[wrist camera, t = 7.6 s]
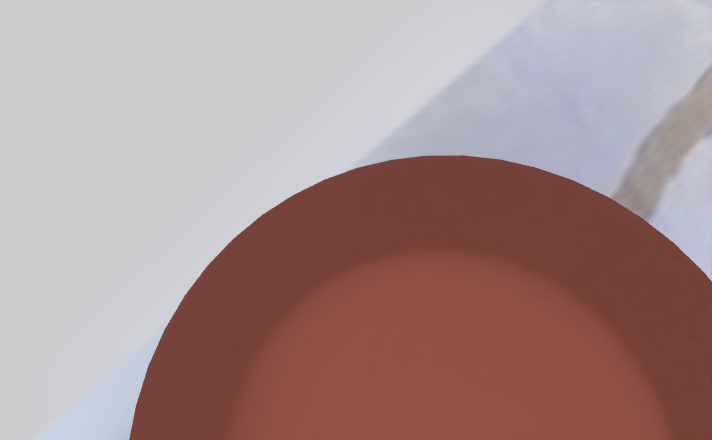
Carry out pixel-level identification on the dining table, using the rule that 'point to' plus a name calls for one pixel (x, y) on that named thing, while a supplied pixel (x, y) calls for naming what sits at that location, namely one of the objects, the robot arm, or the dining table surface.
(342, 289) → the red-capped mushroom
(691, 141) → the dining table surface
